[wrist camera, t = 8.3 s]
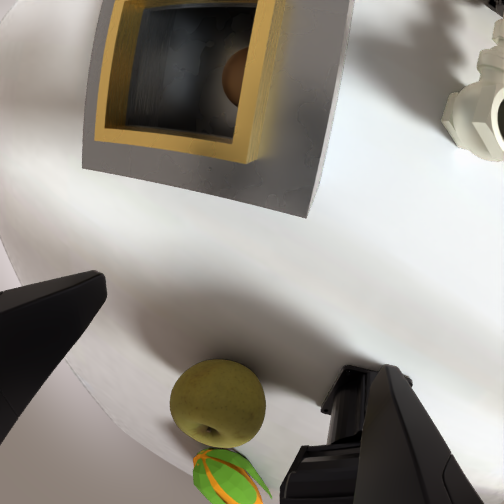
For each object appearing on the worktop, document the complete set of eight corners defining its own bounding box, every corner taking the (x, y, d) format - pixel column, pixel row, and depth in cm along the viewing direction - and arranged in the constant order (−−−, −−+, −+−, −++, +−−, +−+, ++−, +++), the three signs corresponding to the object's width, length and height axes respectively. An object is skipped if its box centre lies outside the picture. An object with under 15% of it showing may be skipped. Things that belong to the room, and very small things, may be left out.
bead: (252, 113, 17) (303, 122, 15) (201, 106, 15) (252, 113, 12) (262, 55, 16) (315, 56, 13) (213, 40, 13) (267, 34, 11)
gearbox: (318, 186, 18) (301, 231, 11) (148, 151, 20) (62, 174, 13) (357, -21, 12) (358, -95, 5) (178, -28, 14) (106, -70, 7)
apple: (279, 403, 27) (259, 464, 21) (203, 393, 29) (174, 445, 23) (270, 345, 24) (244, 413, 18) (184, 337, 26) (143, 392, 20)
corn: (217, 489, 25) (273, 535, 31) (243, 438, 31) (288, 497, 37) (166, 474, 28) (231, 526, 34) (194, 430, 34) (248, 491, 40)
